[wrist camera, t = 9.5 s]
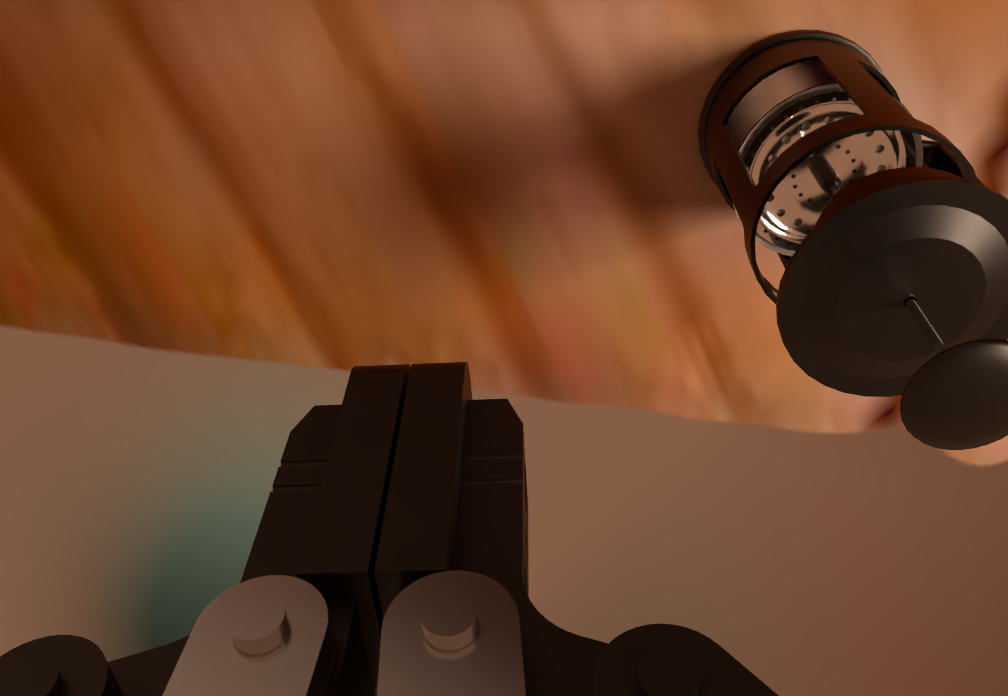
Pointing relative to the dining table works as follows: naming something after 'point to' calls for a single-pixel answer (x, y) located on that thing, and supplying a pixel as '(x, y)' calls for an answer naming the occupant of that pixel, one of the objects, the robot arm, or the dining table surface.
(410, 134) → the dining table surface
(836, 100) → the french press
